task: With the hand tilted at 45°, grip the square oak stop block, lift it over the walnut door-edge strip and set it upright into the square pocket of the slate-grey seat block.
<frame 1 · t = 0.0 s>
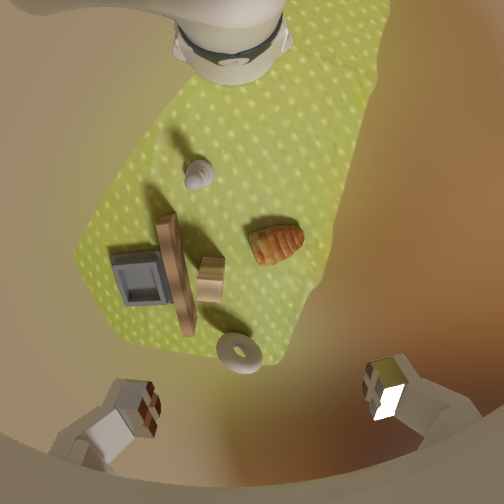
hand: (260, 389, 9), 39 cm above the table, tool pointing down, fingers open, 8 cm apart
chess piece: (200, 173, 44), on the table
door edge: (181, 270, 51), on the table
stop block: (213, 267, 51), on the table
donut: (239, 335, 58), on the table
seat block: (143, 277, 51), on the table
pastry: (272, 240, 50), on the table
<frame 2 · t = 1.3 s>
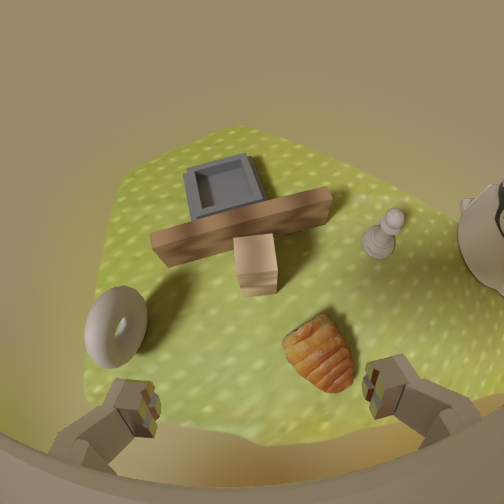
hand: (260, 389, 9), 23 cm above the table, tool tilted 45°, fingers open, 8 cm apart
chess piece: (376, 244, 36), on the table
door edge: (245, 239, 38), on the table
stop block: (258, 280, 35), on the table
donut: (137, 335, 33), on the table
seat block: (225, 194, 41), on the table
pastry: (318, 352, 31), on the table
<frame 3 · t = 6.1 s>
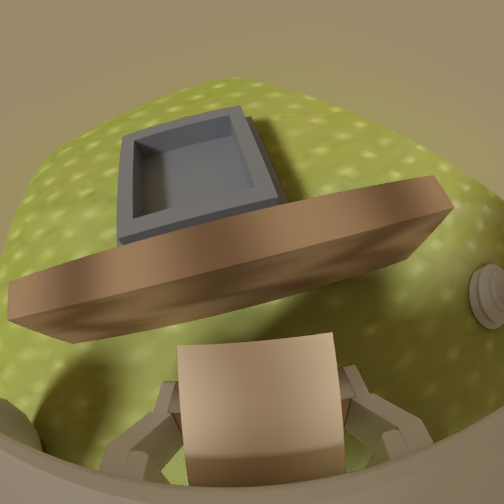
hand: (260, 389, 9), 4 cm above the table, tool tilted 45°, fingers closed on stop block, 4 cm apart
chess piece: (486, 299, 15), on the table
door edge: (234, 292, 16), on the table
stop block: (262, 397, 13), on the table, touching gripper
donut: (37, 455, 11), on the table
seat block: (194, 188, 19), on the table
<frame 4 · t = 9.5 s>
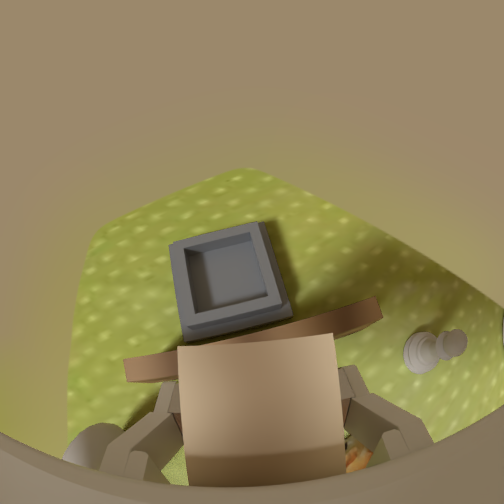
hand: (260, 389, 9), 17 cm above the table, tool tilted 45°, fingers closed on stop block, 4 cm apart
chess piece: (418, 353, 25), on the table
door edge: (255, 352, 26), on the table
stop block: (262, 397, 13), point 13 cm above the table, touching gripper
donut: (122, 455, 21), on the table
seat block: (227, 281, 30), on the table
pastry: (350, 469, 21), on the table
when the fingers open (7 cm above the table, at t = 13.4 s): stop block drops 1 cm, resting on seat block.
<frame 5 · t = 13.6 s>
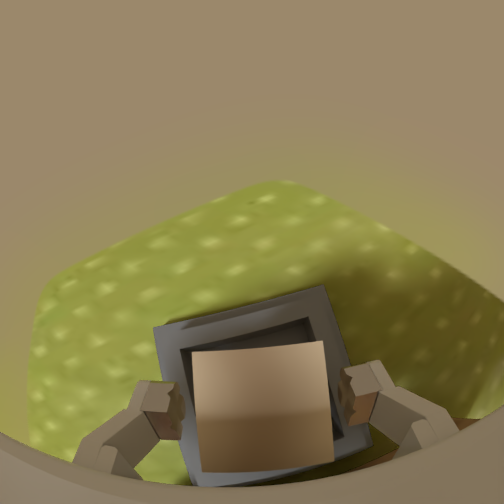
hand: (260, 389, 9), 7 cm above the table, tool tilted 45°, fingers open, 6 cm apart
door edge: (309, 496, 12), on the table
stop block: (262, 395, 14), point 1 cm above the table, touching seat block
seat block: (261, 394, 15), on the table
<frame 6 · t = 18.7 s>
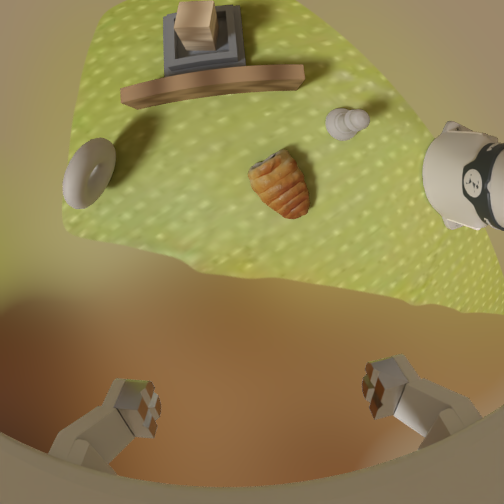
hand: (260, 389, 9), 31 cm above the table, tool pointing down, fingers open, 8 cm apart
chess piece: (340, 124, 35), on the table
door edge: (214, 89, 33), on the table
stop block: (202, 38, 29), point 1 cm above the table, touching seat block
donut: (107, 170, 36), on the table
seat block: (203, 41, 30), on the table
pastry: (279, 181, 38), on the table
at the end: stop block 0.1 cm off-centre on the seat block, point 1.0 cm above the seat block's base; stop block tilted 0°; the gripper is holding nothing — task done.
